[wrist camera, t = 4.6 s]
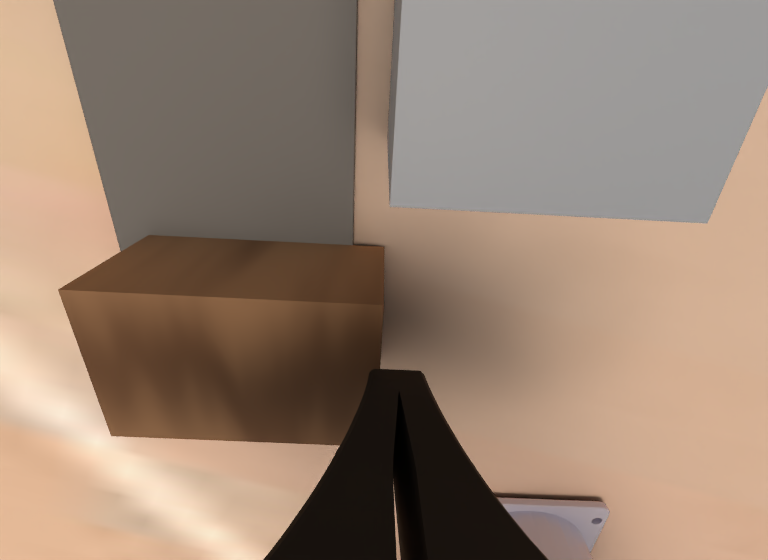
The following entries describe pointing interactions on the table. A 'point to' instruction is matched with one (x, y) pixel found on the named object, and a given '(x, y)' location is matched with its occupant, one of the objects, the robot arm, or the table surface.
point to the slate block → (572, 104)
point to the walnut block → (230, 337)
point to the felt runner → (220, 115)
